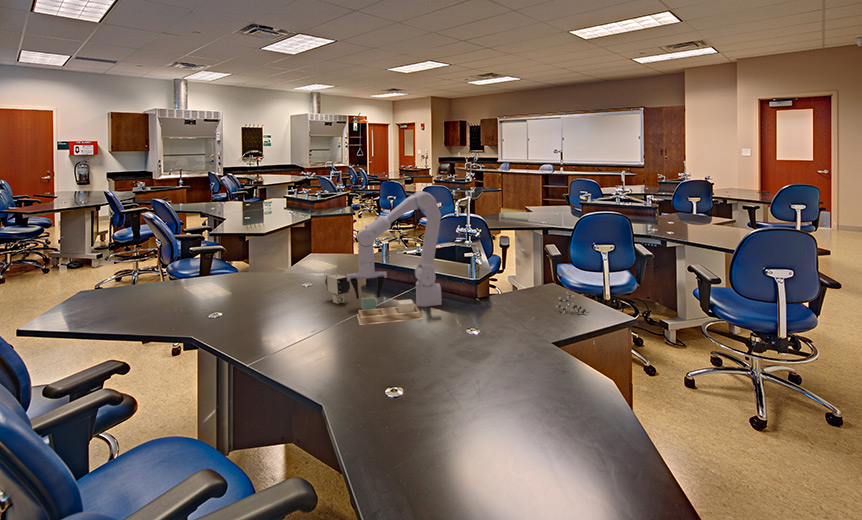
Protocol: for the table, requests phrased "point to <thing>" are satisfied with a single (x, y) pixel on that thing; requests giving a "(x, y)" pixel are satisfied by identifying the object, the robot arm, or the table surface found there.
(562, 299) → the molecule model
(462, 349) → the table surface
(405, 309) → the cream block
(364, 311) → the assembly board
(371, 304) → the teal block
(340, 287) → the pneumatic valve
